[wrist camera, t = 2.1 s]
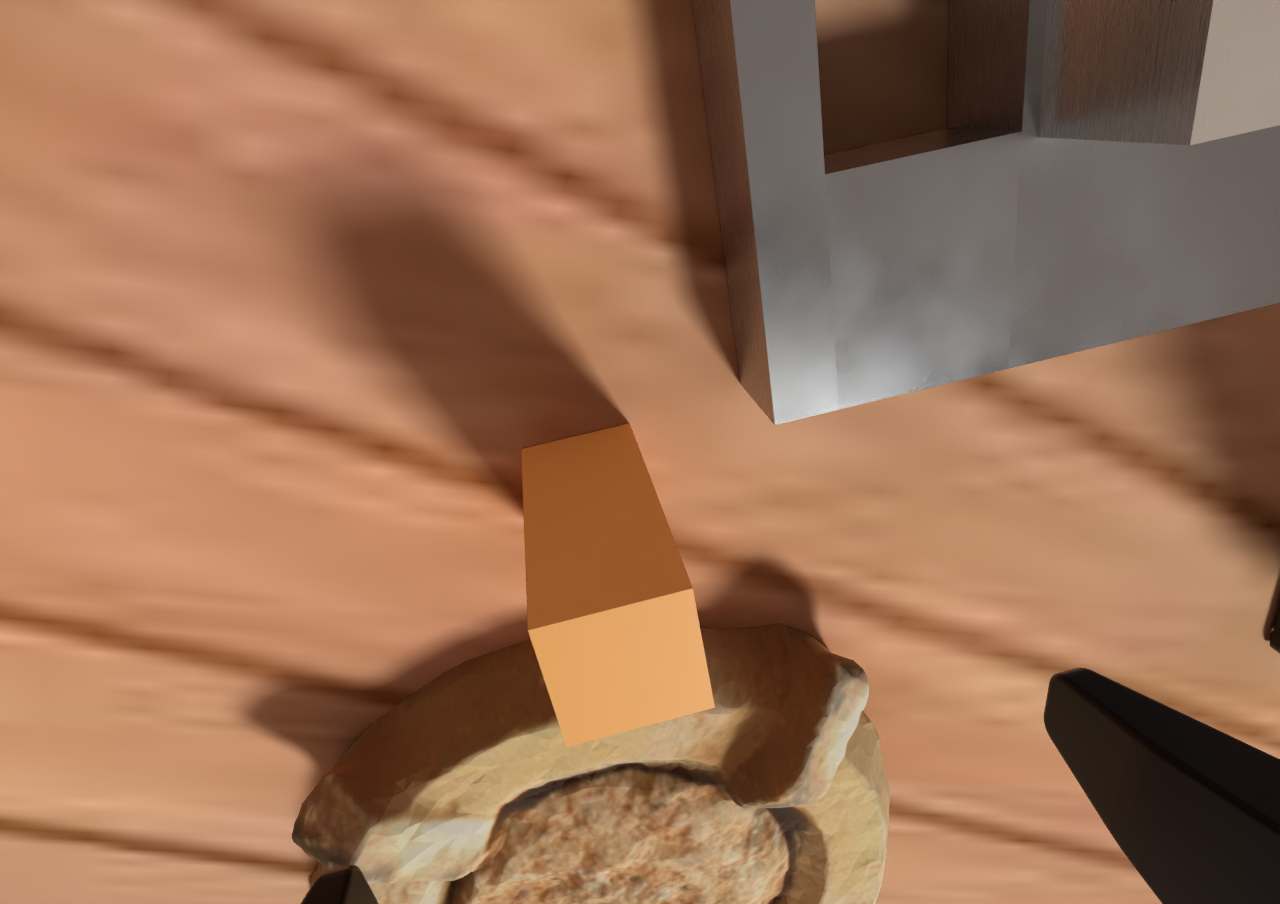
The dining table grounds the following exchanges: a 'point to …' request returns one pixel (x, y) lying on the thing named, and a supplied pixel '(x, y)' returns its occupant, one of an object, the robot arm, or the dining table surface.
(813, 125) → the grey slotted base plate
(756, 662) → the ashtray
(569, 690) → the orange rectangular block
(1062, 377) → the dining table surface
